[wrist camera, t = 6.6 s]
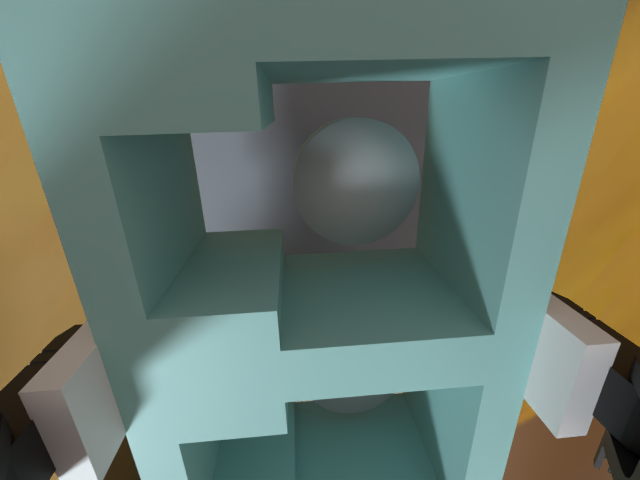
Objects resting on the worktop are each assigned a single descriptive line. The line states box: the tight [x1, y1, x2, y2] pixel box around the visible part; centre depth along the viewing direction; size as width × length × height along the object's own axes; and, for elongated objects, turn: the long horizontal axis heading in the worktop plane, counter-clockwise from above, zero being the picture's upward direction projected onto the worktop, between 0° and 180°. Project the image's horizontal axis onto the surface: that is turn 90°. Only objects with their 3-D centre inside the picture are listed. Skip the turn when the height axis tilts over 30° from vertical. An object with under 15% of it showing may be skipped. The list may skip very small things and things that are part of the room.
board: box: [190, 81, 430, 414], centre depth 16 cm, size 22×20×9 cm
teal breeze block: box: [0, 0, 628, 480], centre depth 11 cm, size 10×16×6 cm, turn 1°
